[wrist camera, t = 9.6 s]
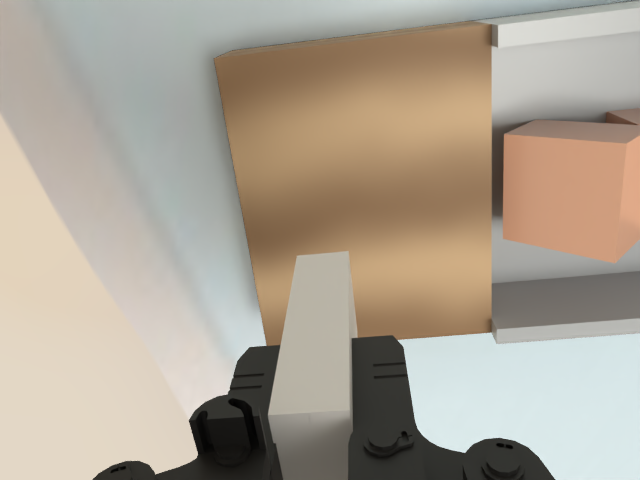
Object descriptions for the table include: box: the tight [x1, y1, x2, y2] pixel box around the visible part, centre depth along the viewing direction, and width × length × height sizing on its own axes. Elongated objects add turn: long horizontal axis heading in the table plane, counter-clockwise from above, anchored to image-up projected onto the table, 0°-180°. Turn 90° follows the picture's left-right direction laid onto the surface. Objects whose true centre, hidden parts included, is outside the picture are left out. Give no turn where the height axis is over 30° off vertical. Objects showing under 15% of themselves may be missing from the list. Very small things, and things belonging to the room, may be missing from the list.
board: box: [214, 21, 492, 346], centre depth 27 cm, size 14×11×4 cm
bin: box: [473, 0, 640, 344], centre depth 25 cm, size 14×13×5 cm
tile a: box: [503, 119, 640, 263], centre depth 25 cm, size 5×5×3 cm
